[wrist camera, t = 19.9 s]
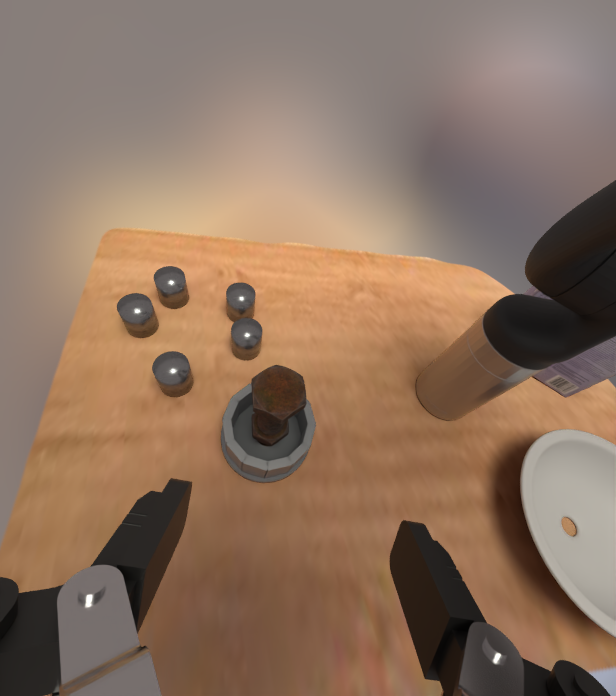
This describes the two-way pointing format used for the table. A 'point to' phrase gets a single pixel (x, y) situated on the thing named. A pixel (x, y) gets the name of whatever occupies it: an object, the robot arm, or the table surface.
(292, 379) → the bolt
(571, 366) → the cake pan box
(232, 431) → the round gray container
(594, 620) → the soup bowl
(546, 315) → the robot arm
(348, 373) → the table surface
